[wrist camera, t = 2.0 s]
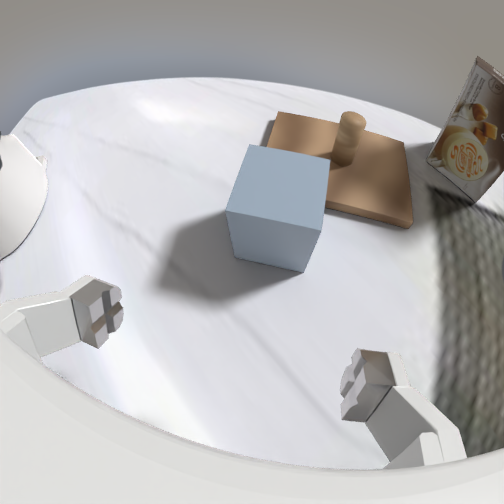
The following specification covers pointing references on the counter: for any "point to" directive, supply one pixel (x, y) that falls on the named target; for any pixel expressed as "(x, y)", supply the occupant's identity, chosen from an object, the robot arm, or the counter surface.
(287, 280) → the counter surface
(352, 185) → the post base
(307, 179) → the pale blue cube
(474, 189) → the coffee box
